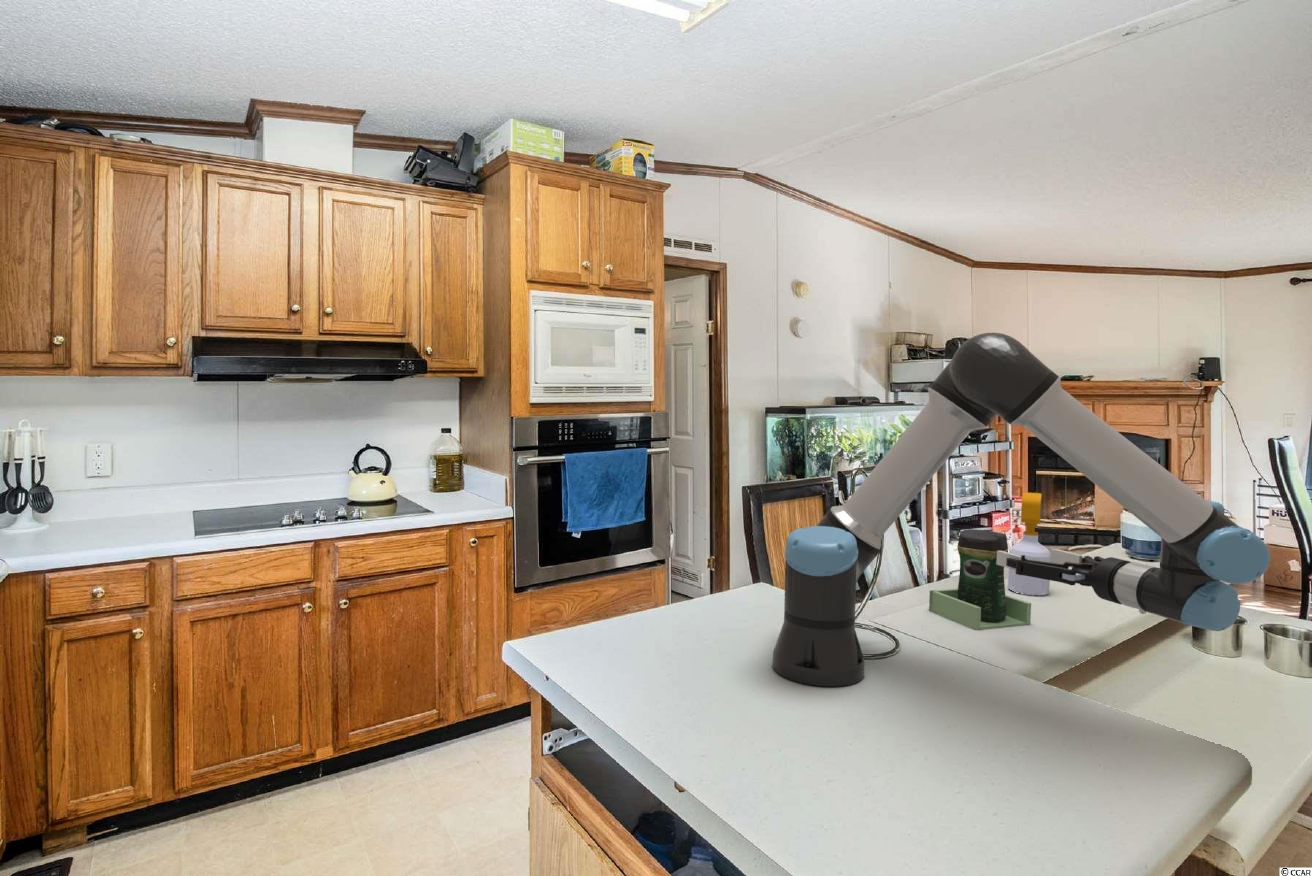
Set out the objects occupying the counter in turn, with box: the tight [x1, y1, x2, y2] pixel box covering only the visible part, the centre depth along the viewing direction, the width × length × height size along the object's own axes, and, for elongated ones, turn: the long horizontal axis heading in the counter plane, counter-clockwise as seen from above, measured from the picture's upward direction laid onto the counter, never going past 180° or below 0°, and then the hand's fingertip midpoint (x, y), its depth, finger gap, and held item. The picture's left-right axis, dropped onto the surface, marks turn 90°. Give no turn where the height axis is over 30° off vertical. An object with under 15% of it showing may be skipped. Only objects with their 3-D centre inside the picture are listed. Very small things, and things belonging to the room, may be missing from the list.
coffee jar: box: [956, 528, 1009, 621], centre depth 147 cm, size 10×8×19 cm
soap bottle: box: [1007, 492, 1051, 597], centre depth 171 cm, size 9×9×25 cm
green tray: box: [928, 587, 1032, 631], centre depth 148 cm, size 14×14×4 cm
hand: (1025, 556), depth 137 cm, fingers open, 13 cm apart
